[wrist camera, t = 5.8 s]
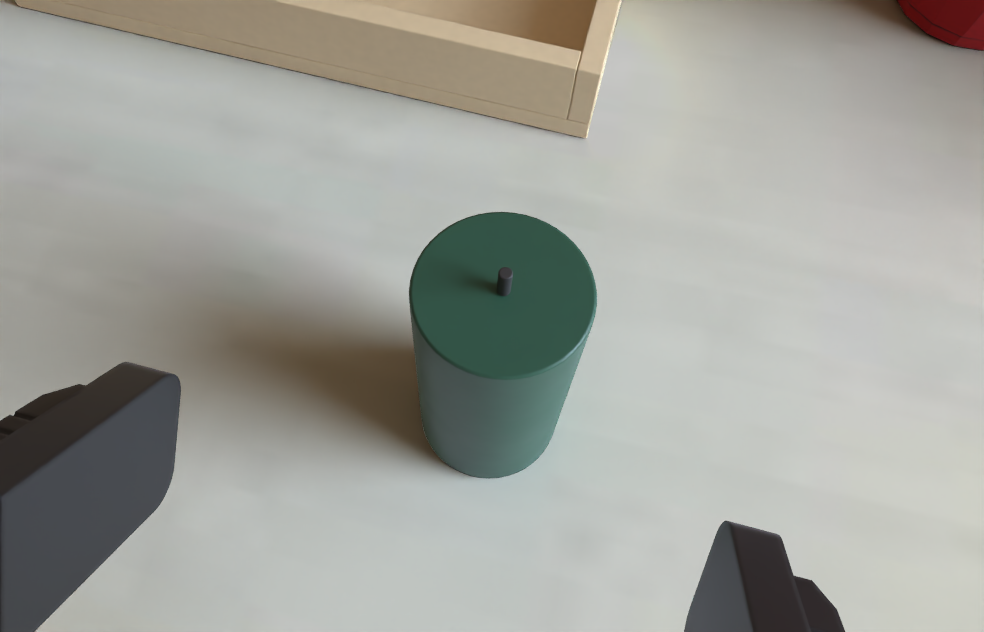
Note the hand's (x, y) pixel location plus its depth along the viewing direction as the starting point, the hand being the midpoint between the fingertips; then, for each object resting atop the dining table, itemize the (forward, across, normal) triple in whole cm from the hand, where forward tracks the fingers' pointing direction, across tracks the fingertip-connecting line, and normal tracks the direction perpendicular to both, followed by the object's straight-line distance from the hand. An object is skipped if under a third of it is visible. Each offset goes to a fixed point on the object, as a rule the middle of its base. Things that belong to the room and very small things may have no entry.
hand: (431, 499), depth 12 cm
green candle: (+12, 0, +4) cm, 13 cm away
